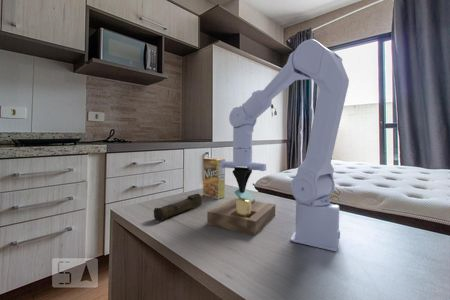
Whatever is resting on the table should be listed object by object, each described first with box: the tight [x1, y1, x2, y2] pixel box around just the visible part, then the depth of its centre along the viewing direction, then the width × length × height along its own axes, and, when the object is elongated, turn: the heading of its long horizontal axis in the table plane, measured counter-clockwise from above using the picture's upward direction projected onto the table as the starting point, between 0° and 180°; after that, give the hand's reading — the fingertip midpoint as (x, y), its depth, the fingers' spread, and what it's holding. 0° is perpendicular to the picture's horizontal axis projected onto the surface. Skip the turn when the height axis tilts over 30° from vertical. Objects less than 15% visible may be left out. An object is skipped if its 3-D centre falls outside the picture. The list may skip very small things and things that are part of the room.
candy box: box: [202, 157, 226, 200], centre depth 88 cm, size 9×4×15 cm, turn 49°
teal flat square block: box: [233, 188, 256, 203], centre depth 68 cm, size 6×6×1 cm
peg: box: [236, 198, 251, 218], centre depth 59 cm, size 4×4×7 cm
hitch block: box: [206, 197, 276, 236], centre depth 64 cm, size 14×16×4 cm
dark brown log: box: [153, 193, 203, 222], centre depth 70 cm, size 19×4×5 cm, turn 143°
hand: (242, 192), depth 68 cm, fingers closed, pressing on teal flat square block
